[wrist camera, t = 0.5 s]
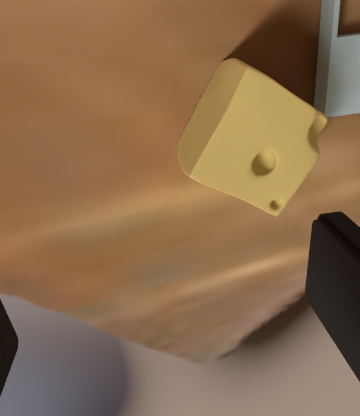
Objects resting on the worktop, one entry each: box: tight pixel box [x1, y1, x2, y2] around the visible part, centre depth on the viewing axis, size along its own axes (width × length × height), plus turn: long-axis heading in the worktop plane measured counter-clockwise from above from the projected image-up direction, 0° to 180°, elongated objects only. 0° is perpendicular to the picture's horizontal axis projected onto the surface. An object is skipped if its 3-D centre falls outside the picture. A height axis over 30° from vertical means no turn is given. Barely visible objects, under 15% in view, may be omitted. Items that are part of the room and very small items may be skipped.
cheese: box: [177, 58, 328, 216], centre depth 33 cm, size 10×11×10 cm
